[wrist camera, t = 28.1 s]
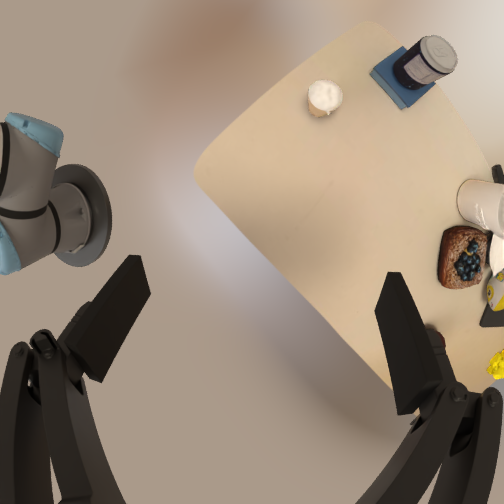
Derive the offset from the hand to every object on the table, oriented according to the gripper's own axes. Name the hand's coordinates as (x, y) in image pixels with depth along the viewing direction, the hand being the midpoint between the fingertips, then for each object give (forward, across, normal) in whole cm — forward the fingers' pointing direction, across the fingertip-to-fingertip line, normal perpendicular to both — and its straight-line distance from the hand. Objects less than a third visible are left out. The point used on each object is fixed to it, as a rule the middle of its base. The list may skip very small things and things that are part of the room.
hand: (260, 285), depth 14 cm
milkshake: (+34, +6, +7) cm, 35 cm away
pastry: (+28, +36, -14) cm, 48 cm away
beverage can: (+33, +20, +16) cm, 41 cm away
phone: (+25, +64, -27) cm, 74 cm away
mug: (+31, +38, -5) cm, 49 cm away
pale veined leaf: (+27, +46, -10) cm, 54 cm away
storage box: (+36, +20, +15) cm, 44 cm away
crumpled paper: (+22, +65, -42) cm, 81 cm away
